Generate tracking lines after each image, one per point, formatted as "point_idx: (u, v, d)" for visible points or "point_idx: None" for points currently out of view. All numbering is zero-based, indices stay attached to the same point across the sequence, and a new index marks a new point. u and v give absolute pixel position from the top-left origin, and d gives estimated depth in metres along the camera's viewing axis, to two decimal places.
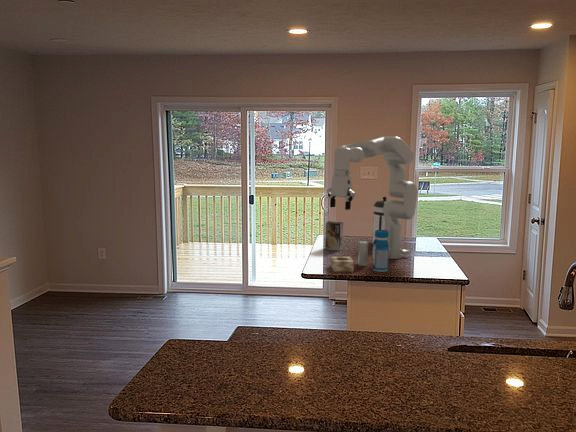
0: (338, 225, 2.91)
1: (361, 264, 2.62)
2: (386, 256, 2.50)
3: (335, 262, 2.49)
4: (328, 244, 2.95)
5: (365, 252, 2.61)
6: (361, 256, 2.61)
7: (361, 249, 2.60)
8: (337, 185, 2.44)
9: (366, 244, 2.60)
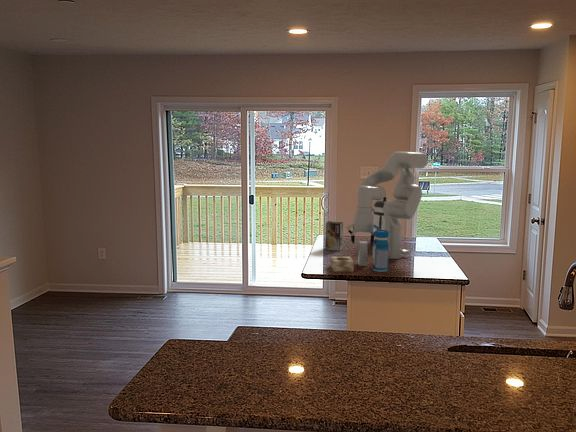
0: (338, 225, 2.91)
1: (361, 264, 2.62)
2: (386, 256, 2.50)
3: (335, 262, 2.49)
4: (328, 244, 2.95)
5: (365, 252, 2.61)
6: (361, 256, 2.61)
7: (361, 249, 2.60)
8: (364, 222, 2.57)
9: (366, 244, 2.60)
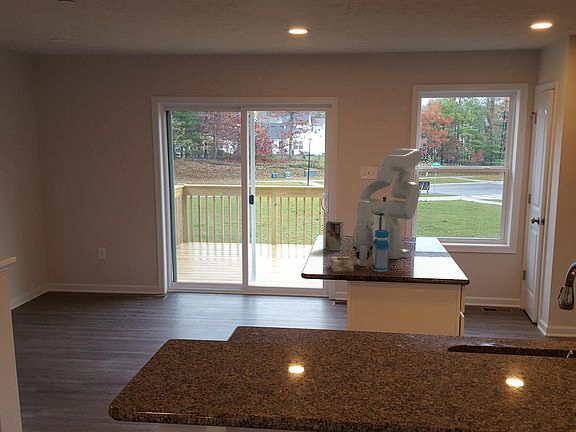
0: (338, 225, 2.91)
1: (361, 264, 2.62)
2: (386, 256, 2.50)
3: (335, 262, 2.49)
4: (328, 244, 2.95)
5: (365, 252, 2.61)
6: (361, 256, 2.61)
7: (361, 249, 2.60)
8: (364, 236, 2.59)
9: None
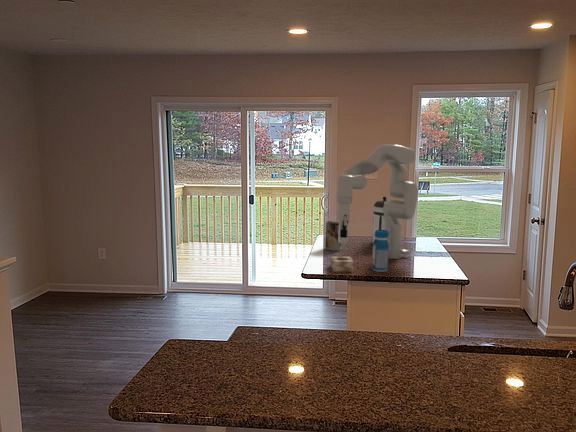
0: (338, 225, 2.91)
1: None
2: (386, 256, 2.50)
3: (335, 262, 2.49)
4: (328, 244, 2.95)
5: None
6: None
7: None
8: None
9: None
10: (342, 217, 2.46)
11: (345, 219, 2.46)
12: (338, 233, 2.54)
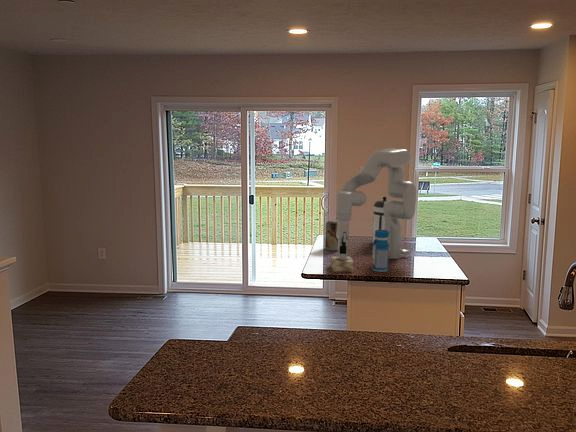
0: None
1: None
2: (386, 255, 2.50)
3: (335, 262, 2.49)
4: (328, 244, 2.95)
5: None
6: None
7: None
8: None
9: None
10: (341, 234, 2.47)
11: (344, 236, 2.47)
12: None
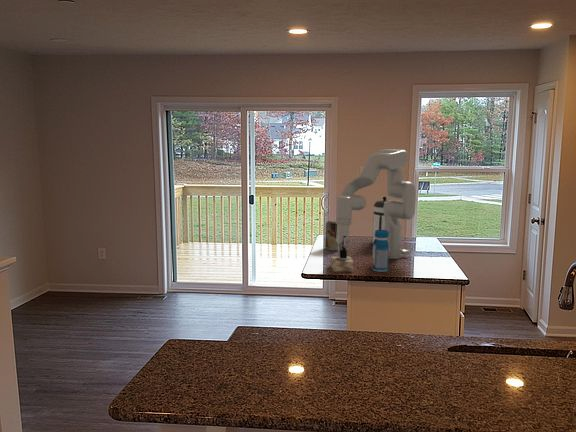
0: None
1: None
2: (386, 256, 2.50)
3: (335, 262, 2.49)
4: (328, 244, 2.95)
5: None
6: (346, 259, 2.54)
7: None
8: None
9: None
10: (341, 238, 2.48)
11: (344, 239, 2.47)
12: None
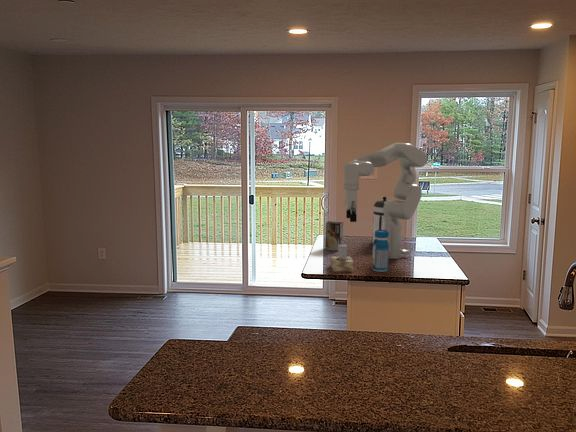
0: (338, 225, 2.91)
1: None
2: (386, 256, 2.50)
3: (335, 262, 2.49)
4: (328, 244, 2.95)
5: None
6: (346, 259, 2.54)
7: None
8: None
9: (346, 246, 2.55)
10: (350, 203, 2.54)
11: (353, 203, 2.53)
12: None
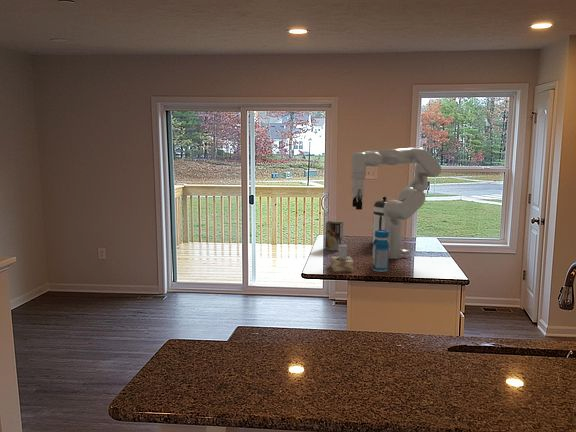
0: (338, 225, 2.91)
1: None
2: (386, 256, 2.50)
3: (335, 262, 2.49)
4: (328, 244, 2.95)
5: None
6: (346, 259, 2.54)
7: None
8: None
9: (346, 246, 2.55)
10: (356, 191, 2.62)
11: (360, 191, 2.61)
12: None
